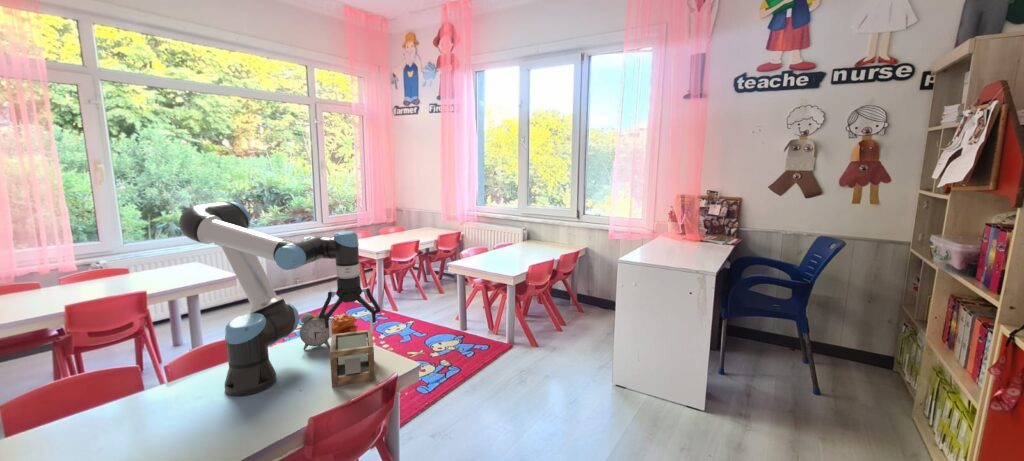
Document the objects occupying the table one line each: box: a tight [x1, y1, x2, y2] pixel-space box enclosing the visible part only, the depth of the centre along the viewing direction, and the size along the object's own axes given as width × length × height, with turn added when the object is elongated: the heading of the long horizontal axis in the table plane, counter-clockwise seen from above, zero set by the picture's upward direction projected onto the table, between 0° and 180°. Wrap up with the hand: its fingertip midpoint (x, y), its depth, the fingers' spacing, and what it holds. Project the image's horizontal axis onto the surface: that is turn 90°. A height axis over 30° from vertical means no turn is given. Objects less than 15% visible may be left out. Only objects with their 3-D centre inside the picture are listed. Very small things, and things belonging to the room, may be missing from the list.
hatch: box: [337, 334, 368, 366], centre depth 156 cm, size 10×10×1 cm
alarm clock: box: [299, 311, 331, 351], centre depth 175 cm, size 12×7×15 cm, turn 104°
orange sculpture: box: [331, 311, 359, 334], centre depth 166 cm, size 11×11×18 cm
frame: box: [329, 329, 376, 388], centre depth 154 cm, size 14×16×12 cm
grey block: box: [344, 358, 362, 375], centre depth 150 cm, size 5×5×6 cm
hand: (351, 333), depth 152 cm, fingers open, 13 cm apart
